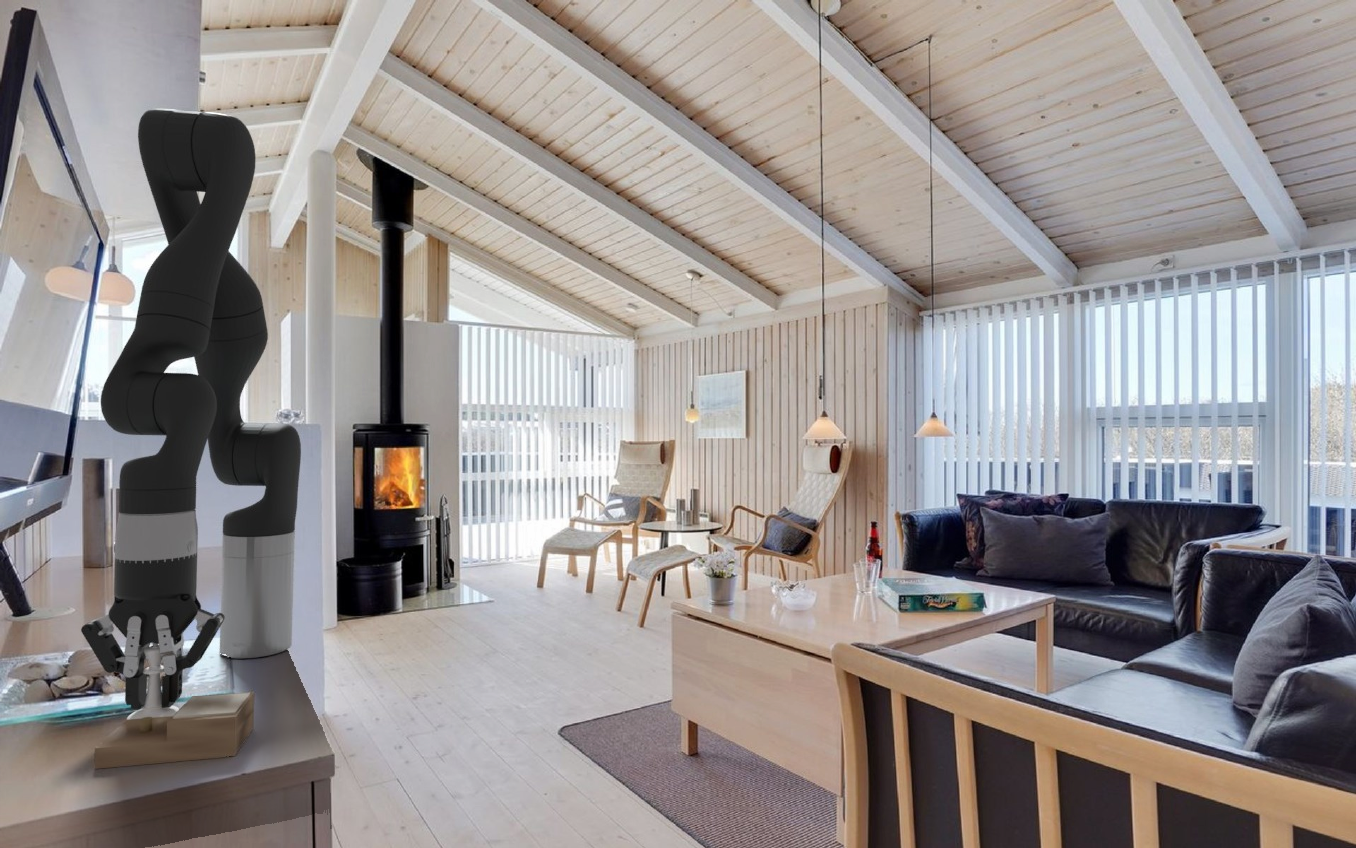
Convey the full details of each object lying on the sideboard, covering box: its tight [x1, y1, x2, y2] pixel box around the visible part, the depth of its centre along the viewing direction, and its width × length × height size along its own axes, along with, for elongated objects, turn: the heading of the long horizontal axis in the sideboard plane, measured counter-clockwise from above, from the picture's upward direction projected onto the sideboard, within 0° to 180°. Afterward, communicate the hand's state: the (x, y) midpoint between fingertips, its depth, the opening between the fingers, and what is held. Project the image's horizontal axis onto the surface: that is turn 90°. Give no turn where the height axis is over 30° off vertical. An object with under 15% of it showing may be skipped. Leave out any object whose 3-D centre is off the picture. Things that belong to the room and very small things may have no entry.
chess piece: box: [126, 643, 180, 720], centre depth 82 cm, size 5×5×10 cm
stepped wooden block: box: [93, 691, 256, 770], centre depth 76 cm, size 7×12×4 cm, turn 106°
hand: (153, 705), depth 82 cm, fingers closed on chess piece, 2 cm apart
